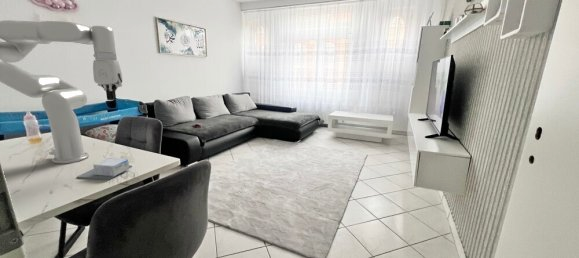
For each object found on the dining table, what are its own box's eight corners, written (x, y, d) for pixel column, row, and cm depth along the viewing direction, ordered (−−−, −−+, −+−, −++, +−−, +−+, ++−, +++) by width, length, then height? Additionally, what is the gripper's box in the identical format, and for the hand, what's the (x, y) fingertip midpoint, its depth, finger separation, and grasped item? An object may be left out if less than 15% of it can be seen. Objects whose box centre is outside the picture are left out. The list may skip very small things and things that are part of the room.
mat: (76, 178, 94) (76, 176, 94) (103, 165, 107) (102, 164, 107) (109, 179, 94) (109, 178, 94) (132, 166, 107) (131, 165, 106)
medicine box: (94, 174, 96) (113, 177, 95) (92, 164, 95) (112, 166, 94) (111, 167, 104) (129, 169, 103) (109, 157, 103) (128, 159, 102)
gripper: (82, 56, 102) (89, 100, 107) (115, 57, 101) (120, 101, 105) (97, 57, 110) (103, 98, 114) (128, 58, 108) (133, 99, 112)
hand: (111, 99), depth 110 cm, fingers closed
